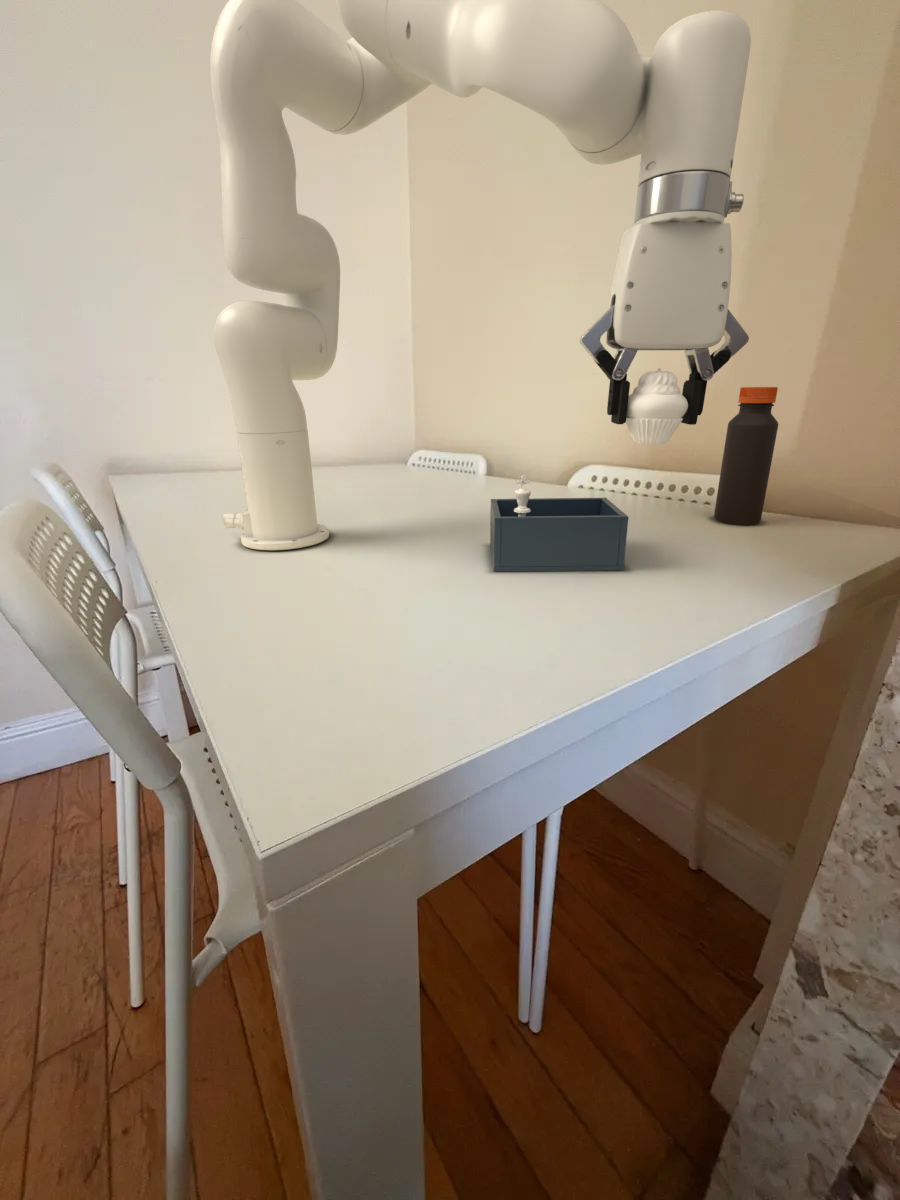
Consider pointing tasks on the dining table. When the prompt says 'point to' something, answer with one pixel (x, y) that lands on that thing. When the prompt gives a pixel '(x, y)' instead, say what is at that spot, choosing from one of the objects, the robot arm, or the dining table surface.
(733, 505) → the bottle
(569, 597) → the dining table surface
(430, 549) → the dining table surface
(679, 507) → the dining table surface
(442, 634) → the dining table surface
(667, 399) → the muffin
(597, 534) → the bin
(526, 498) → the chess piece
